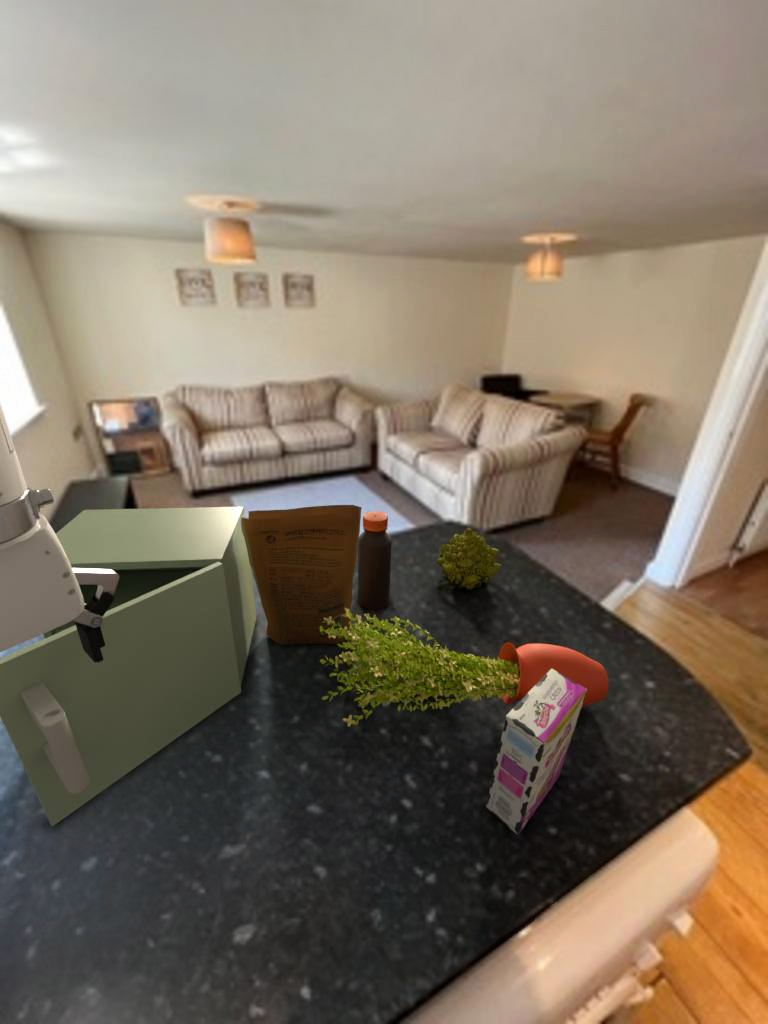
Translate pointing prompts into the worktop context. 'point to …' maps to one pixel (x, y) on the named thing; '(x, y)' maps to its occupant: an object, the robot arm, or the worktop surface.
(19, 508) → the robot arm
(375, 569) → the bottle
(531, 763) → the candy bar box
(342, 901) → the worktop surface
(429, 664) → the potted plant
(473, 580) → the vegetable
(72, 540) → the cabinet
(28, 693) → the door
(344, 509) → the pancake mix bag
